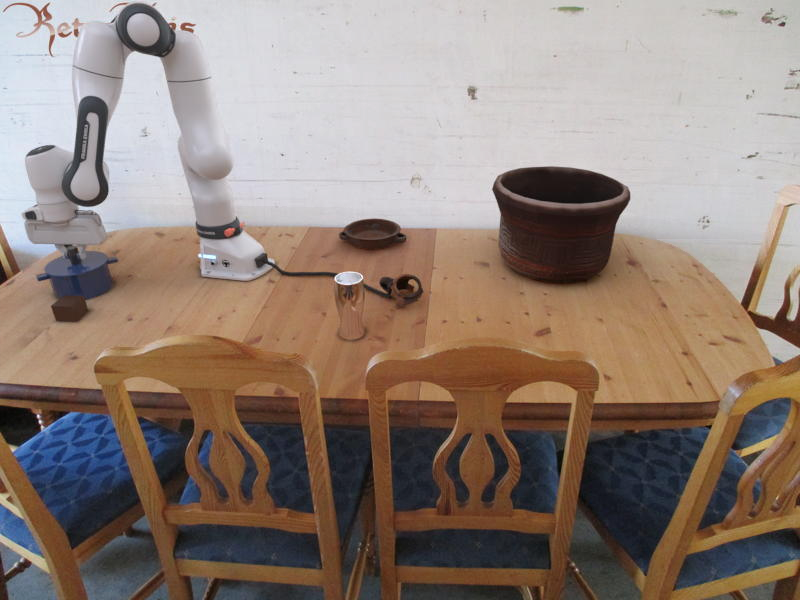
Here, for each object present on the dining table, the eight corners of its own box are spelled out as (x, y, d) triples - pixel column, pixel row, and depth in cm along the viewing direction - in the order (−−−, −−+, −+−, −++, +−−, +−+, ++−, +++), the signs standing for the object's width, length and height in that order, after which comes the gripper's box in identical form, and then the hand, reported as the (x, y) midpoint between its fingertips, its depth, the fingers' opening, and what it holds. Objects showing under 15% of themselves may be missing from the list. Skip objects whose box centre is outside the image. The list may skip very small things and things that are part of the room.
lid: (114, 268, 155) (109, 249, 152) (50, 284, 147) (43, 265, 145) (102, 249, 166) (97, 231, 164) (41, 263, 158) (35, 245, 156)
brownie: (88, 310, 149) (83, 295, 147) (76, 321, 144) (71, 306, 142) (68, 310, 150) (63, 295, 147) (56, 321, 145) (50, 305, 143)
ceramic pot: (472, 281, 161) (477, 195, 148) (502, 234, 190) (508, 159, 178) (610, 304, 148) (628, 213, 136) (620, 250, 178) (635, 171, 166)
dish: (344, 230, 194) (343, 217, 192) (409, 232, 192) (409, 218, 190) (334, 252, 179) (332, 237, 177) (404, 254, 177) (404, 239, 175)
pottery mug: (423, 292, 157) (428, 275, 150) (414, 320, 152) (419, 305, 145) (382, 278, 157) (385, 261, 150) (371, 306, 152) (373, 290, 145)
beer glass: (337, 326, 141) (333, 271, 134) (366, 325, 141) (363, 270, 134) (337, 342, 135) (332, 285, 127) (366, 340, 135) (364, 284, 128)
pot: (128, 288, 160) (122, 264, 156) (48, 309, 150) (39, 284, 146) (116, 269, 170) (110, 246, 167) (40, 288, 160) (32, 264, 157)
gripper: (104, 206, 151) (117, 254, 158) (30, 205, 152) (46, 252, 159) (91, 214, 145) (105, 264, 152) (14, 213, 147) (32, 262, 154)
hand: (75, 258), depth 156 cm, fingers closed on lid, 2 cm apart
